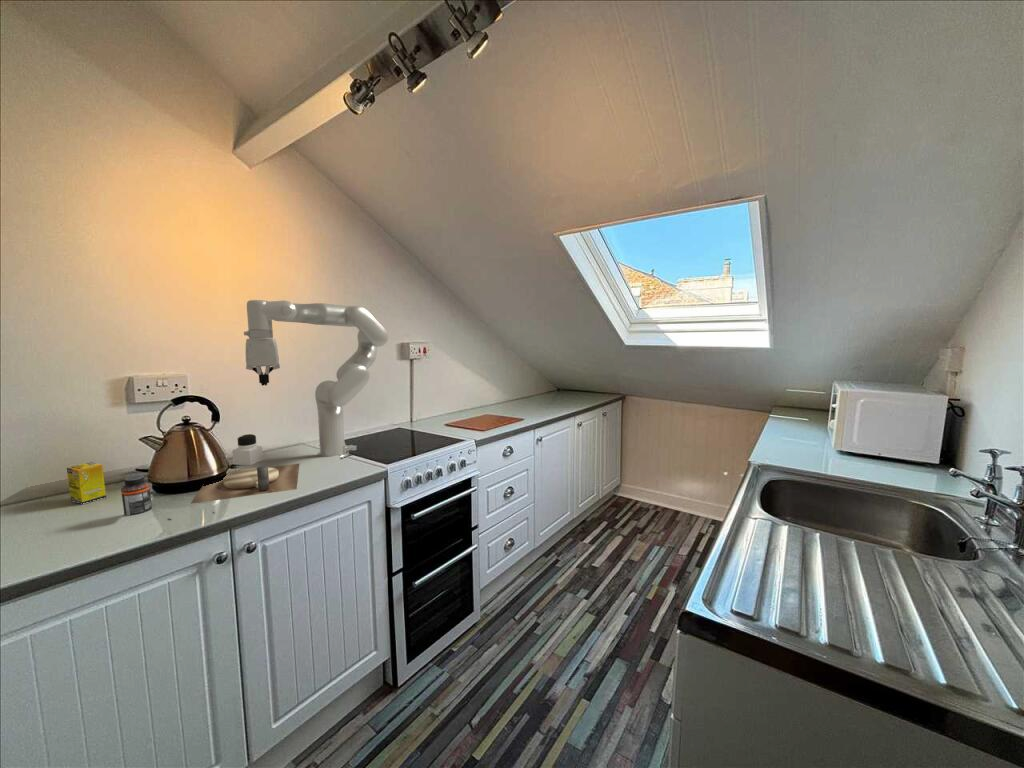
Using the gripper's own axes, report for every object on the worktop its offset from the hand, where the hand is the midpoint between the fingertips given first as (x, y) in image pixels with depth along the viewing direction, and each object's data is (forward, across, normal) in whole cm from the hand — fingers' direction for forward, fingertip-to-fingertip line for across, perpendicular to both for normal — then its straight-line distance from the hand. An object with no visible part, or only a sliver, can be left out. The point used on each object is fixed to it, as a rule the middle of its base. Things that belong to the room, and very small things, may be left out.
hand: (264, 385), depth 154 cm
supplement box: (+32, -48, -10) cm, 59 cm away
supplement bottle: (+32, -30, -30) cm, 53 cm away
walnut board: (+32, -4, -16) cm, 36 cm away
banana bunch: (+30, -3, -19) cm, 36 cm away
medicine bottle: (+32, -8, +8) cm, 34 cm away
